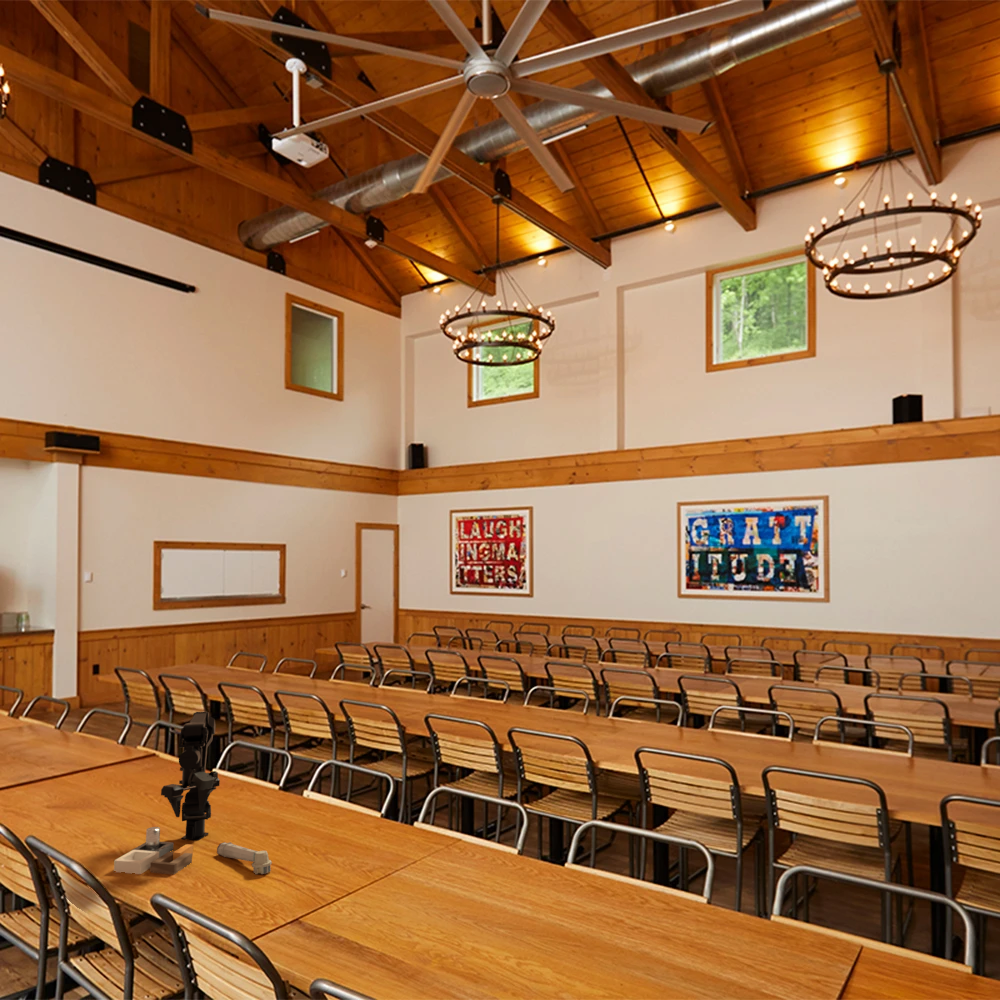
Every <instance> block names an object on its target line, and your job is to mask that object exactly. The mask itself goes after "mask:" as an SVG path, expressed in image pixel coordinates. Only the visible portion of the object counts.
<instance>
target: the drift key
mask: <svg viewBox="0 0 1000 1000" xmlns="http://www.w3.org/2000/svg"><path fill="white" fill-rule="evenodd" d="M172 852H173V860H175V859H176V858H178V857H180V856H181V855H183V854H184V853H192V857H194V844H188V843H187V844H186V843H185V845H183V846H180V848H178V849H176V850H173V851H172Z"/></svg>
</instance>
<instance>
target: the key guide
mask: <svg viewBox="0 0 1000 1000" xmlns="http://www.w3.org/2000/svg"><path fill="white" fill-rule="evenodd" d="M173 852H174V851H171V852H167V853H166V854H164V855H163V856H161V857H159V858H158V859H156V860H154V861H153V862H151V866H150V869H149V870H150V871H149V872H151V873H153V874H162V875H163V874H165V875H172V874H173V876H174V875H176V874H177V873H179V872H180V871H182V870H184V869H185V868H186V867H188V866H189V865H191V864H192V861H193V856H192V853H184V854H183V855H181V856H180V857H178V858H176V859H175V860H173ZM190 863H191V864H190ZM187 865H188V866H187ZM184 867H185V868H184ZM178 871H179V872H178ZM151 873H150V874H151Z"/></svg>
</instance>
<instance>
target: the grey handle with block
mask: <svg viewBox="0 0 1000 1000" xmlns="http://www.w3.org/2000/svg"><path fill="white" fill-rule="evenodd" d="M216 854H217V855H219V856H222V857H223V858H225V857H226V858H231V859H236V860H240V861H246V862H252V863H251V867H252V868H253V869H252V871H253V874H254V873H255V874H254V875H259V874H261V875H263V874H268V873H270V872H271V871H272V869H271V868H272V867H271V865H272V864H273V862H272V860H271V859H269V853H268V851H267V850H259V851H258V850H253V849H250V848H247V847H243V846H241V845H237V844H234V843H232V842H231V841H230V842H225V841H224V842H222V843H219V844H218V846H217V847H216Z"/></svg>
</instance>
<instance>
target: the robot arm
mask: <svg viewBox="0 0 1000 1000" xmlns="http://www.w3.org/2000/svg"><path fill="white" fill-rule="evenodd" d="M192 714H193V715H192V717H191V719H190V721H189V722H188V723H187V722H186V723H185V724H183V727H181V729H180V735H179V736H180V737H179V743H178V749H179V748H183V751H182V753H181V754H180V756H179V758H178V764H179V765H180V767H179V771H180V772H182V776H181V779H180V780H179V782H178V784H176V783H171V784H167V785H163V786H162V787H161V790H160V791H161V792H160V795H161V796H164V797H163V798H166V799H167V801H168V802H169V804H170V806H171V808H172V811H173V813H174V815H175V817H176V818H180V816H181V821H182V822H185V821H186V822H185V823H186V824H185V835H184V836H182V837H181V840H185V839H190V840H189V841H201V840H202V839H203V838H205V837H206V835H207V836H208V835H209V832H205V826H206V821H207V820H208V819H211V818H212V808H211V807H212V805H211V804H210V801H209V800H208V799H209V797H210V795H211V794H212V792H213V791H214V790H216V789H217V787H220V785H221V784H220V782H221V781H220V779H219V775H218V774H219V773H218V772H217V771H216V770H214V771H210V772H206V764H207V756H208V747H209V746H210V745H211V743H212V742H213V737H214V735H216V720H215V718H214V717H212V716H211V715H210V712H209V711H195V712H193V713H192ZM184 791H187V792H186V793H185V795H184V794H183V793H184ZM182 794H183V795H182ZM183 798H184V800H183ZM182 800H183V801H184V802H182ZM181 803H182V805H181ZM204 836H205V837H204ZM201 838H202V839H201Z"/></svg>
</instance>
